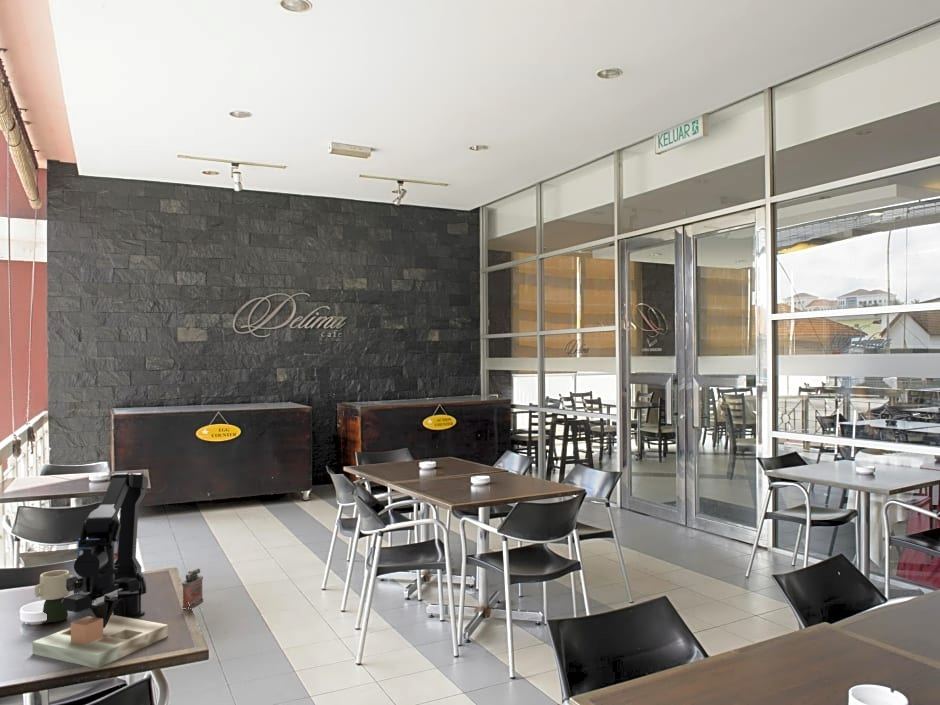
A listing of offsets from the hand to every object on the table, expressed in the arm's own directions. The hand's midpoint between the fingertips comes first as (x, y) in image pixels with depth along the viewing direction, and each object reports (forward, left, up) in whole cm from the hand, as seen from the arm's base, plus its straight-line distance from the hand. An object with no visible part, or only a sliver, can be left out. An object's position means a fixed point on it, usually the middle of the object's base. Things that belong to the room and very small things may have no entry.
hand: (102, 628), depth 183 cm
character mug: (-7, -27, -4) cm, 28 cm away
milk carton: (-22, -28, -4) cm, 36 cm away
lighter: (-31, -1, -4) cm, 32 cm away
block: (+4, 0, -1) cm, 5 cm away
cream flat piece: (0, 0, -4) cm, 4 cm away
